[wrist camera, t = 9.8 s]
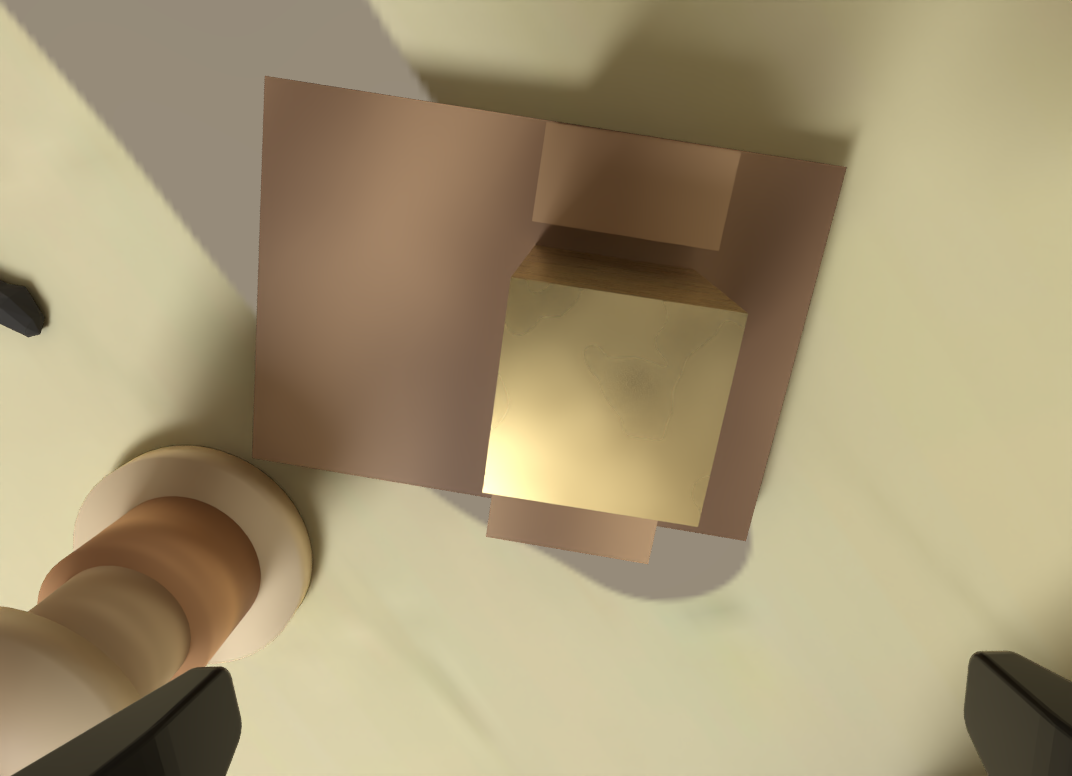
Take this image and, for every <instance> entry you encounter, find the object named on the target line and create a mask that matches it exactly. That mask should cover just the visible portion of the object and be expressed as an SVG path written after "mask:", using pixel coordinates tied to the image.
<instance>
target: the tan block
mask: <svg viewBox="0 0 1072 776" xmlns="http://www.w3.org/2000/svg"><path fill="white" fill-rule="evenodd" d="M747 317H748V313H747V312H746V311H744V310H743V309H742V308H741V307H740V306H738V305H737V304H736V303H735V302H734V301H732V300H731V299H730V298H729V297H727V296H726V295H725V294H724V293H723V292H721V291H720V290H719V289H718V288H716V287H715V286H714V285H713V284H712V283H710V282H709V281H708V280H707V279H706V278H704V277H703V276H702V275H701V274H699V273H698V272H697V271H696V270H695V269H690V268H683V267H677V266H670V265H664V264H657V263H650V262H644V261H637V260H631V259H624V258H617V257H611V256H604V255H598V254H591V253H585V252H578V251H571V250H565V249H558V248H552V247H545V246H538V245H535V246H534V247H533V248H532V250H531V251H530V252H529V254H528V255H527V256H526V258H525V259H524V260H523V262H522V263H521V264H520V266H519V267H518V268H517V270H516V271H515V272H514V274H513V275H512V276H511V280H510V287H509V295H508V302H507V310H506V318H505V325H504V333H503V340H502V348H501V356H500V363H499V371H498V378H497V386H496V394H495V401H494V409H493V416H492V424H491V431H490V439H489V447H488V454H487V462H486V469H485V477H484V485H483V492H482V493H488V494H495V495H501V496H507V497H513V498H520V499H526V500H532V501H538V502H545V503H551V504H557V505H563V506H570V507H576V508H582V509H588V510H595V511H601V512H607V513H613V514H620V515H626V516H632V517H638V518H645V519H651V520H657V521H663V522H670V523H676V524H682V525H688V526H695V527H698V525H699V520H700V516H701V512H702V508H703V503H704V499H705V495H706V491H707V486H708V482H709V478H710V474H711V469H712V465H713V461H714V457H715V452H716V448H717V444H718V440H719V435H720V431H721V427H722V423H723V419H724V414H725V410H726V406H727V402H728V397H729V393H730V389H731V385H732V380H733V376H734V372H735V368H736V363H737V359H738V355H739V351H740V346H741V342H742V338H743V334H744V329H745V325H746V321H747Z"/></svg>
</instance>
